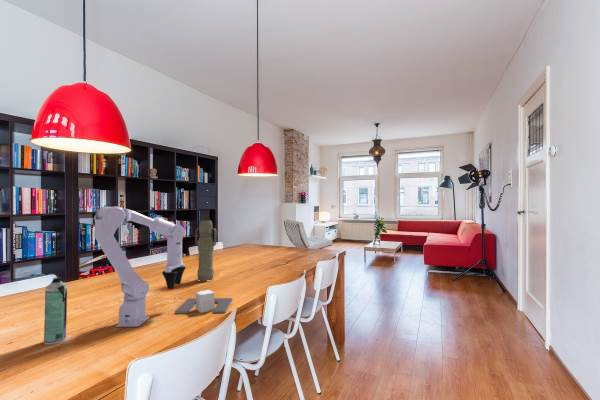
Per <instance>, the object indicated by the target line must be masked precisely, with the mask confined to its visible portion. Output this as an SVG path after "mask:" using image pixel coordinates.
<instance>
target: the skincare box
mask: <svg viewBox="0 0 600 400" xmlns="http://www.w3.org/2000/svg"><path fill="white" fill-rule="evenodd" d="M214 298H215V292H214V291H212V289H206V290H200V291H196V292H195V299H196V305H195V309H196V311H197V312H198V313H200V314H202V313H203V314H204V313H207V312H213V311H212V310H214V308H215V307H216V306H215V304H216V303H215V299H214Z"/></svg>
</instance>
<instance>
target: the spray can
mask: <svg viewBox="0 0 600 400" xmlns="http://www.w3.org/2000/svg"><path fill="white" fill-rule="evenodd" d="M67 308H68V284H67V283H65V282H63V281H62V280H61V277H60V276H59V277H54V278H52V281H51V282H50V284H48V285H46V286H45V290H44V325H43V326H44V329H43V331H44V332H43V342H44V343H43V344H44V345H45V346H53V345H57V344H61V343H63V342H65V341H66V340H67V315H68V314H67V313H68V312H67Z"/></svg>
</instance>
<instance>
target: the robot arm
mask: <svg viewBox="0 0 600 400" xmlns="http://www.w3.org/2000/svg"><path fill="white" fill-rule="evenodd" d="M93 220H94V235H93V236H94V238H95V240H96V242H97V243H98V245H99V246H100V248H101V250H102V252H103V254H104V255H105V256H106V258H107V260H108V261H109V263H110V264H111V266H112V268H113V269H114V272H115V273H116V274H117V276H118V277H119V279H118V282H119V283H120V289H121V292H122V293H123V294H124V295H123V302H122V304H121V305H120V306H119V309H118V324H116V325H115V327H116V328H127V327H128V328H129V327H130V328H131V327H132V328H134V327H135V328H136V327H140V326H141V325H143V323H145V322H146V321H147V320H148V319H149V318H151V317H150V315H146V308H147V307H146V301H147V300H146V297H147V295H148V294H149V291H150V286H149V283H148V282H146V281H144V280H143V279H142V277H141V276H140V275H139V274H138V273H137V272H136V271H135V269H134V268H133V266H132V264H131V262H130V261H129V260H128V258H127V256H126V254H125V253H124V251H123V249H122V247H121V246H120V244H119V243H118V241H117V239H116V237H115V233H116V231H117V230H118V228H119V227H120V226H121V225H122V224H123V222H134V223H136V224H140V225H143V226H146V227H148V228H149V231H151V232H154V233H157V234H160V235H162V236H165V237H167V243H166V245H167V246H166V253H167V254H166V265H165V266H166V267H165V269H164V271H162V272H161V273H162V276H163V277H164V280H165V282H166V287H167V290H174V289H175V285H181V282H182V278H183V274H184V271H185V270H186V266H185V265H186V263H184V261H183V238H184V236H185V234H186V230H185V228H184V226H183V225H181V224H176V223H175V222H174V221H168V220H166V219H164V217H162V216H159V217H153V218H152V217H149V216H146V215H144V214H141V213H139V212H137V211H134V210H133V209H132V210H131V209H128V208H124V207H121V206H117V205H116V206H102V207H99V209H98V210H97V211H96V213H95V215H94V217H93Z"/></svg>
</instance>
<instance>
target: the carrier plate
mask: <svg viewBox="0 0 600 400" xmlns="http://www.w3.org/2000/svg"><path fill="white" fill-rule="evenodd" d="M214 299H215V304H216V306H215V308H214V310H213V311H212V314H226V313H227V311H228V309H229V308H230V306H231V304H232V302H233V297H222V298H221V297H218V298H216V297H214ZM194 307H196V298H187V299H186V300H185V301H183V303H182V304H181V305H180V306H179V307H177V309H176V310H175V311H174V314H176V315H177V314H178V313H179V314H181V313H182V314H184V313H186V314H189V313H190V311H192V309H193V308H194ZM182 314H181V315H182ZM186 314H185V315H186Z"/></svg>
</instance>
